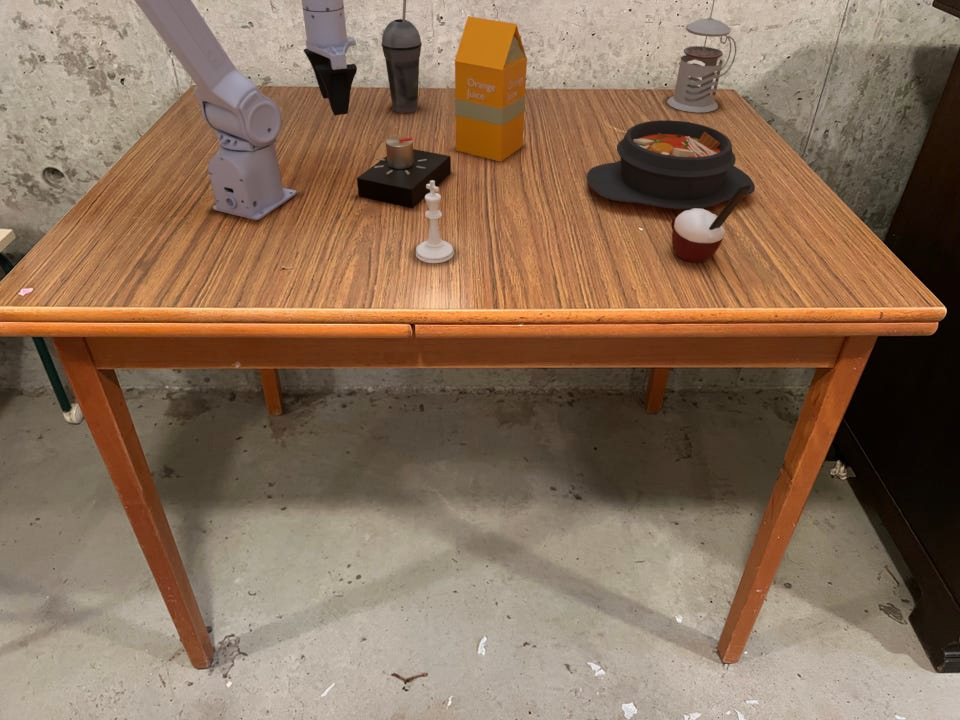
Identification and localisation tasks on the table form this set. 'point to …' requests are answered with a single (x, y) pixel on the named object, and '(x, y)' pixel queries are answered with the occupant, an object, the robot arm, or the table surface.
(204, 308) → the table surface
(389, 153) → the knob
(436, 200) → the chess piece
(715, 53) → the french press
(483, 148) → the orange juice
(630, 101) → the table surface
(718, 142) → the casserole
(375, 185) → the hob panel
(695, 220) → the rice bowl
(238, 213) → the robot arm
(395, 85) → the beverage cup
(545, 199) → the table surface
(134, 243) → the table surface
